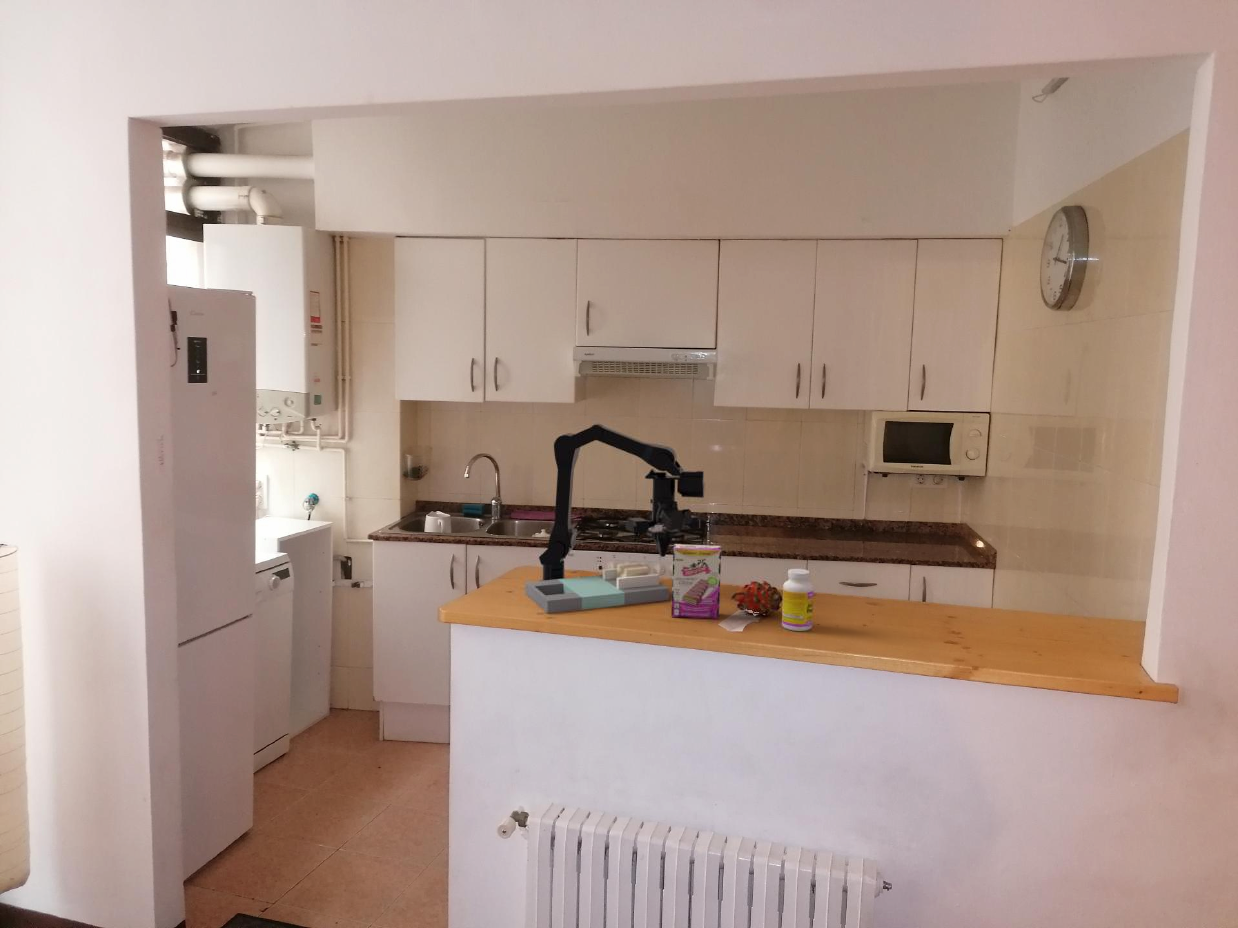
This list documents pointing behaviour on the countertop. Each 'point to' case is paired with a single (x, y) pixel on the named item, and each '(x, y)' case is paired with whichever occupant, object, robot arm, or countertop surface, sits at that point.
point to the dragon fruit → (758, 598)
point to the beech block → (631, 570)
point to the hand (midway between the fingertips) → (662, 556)
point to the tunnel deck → (595, 591)
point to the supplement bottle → (797, 601)
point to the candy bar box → (696, 581)
